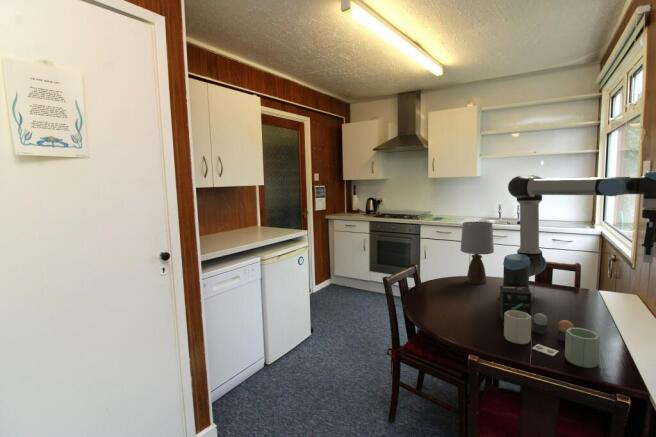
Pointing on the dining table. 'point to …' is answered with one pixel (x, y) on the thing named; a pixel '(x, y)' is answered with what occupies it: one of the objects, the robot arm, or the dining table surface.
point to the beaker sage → (582, 347)
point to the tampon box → (514, 300)
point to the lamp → (477, 248)
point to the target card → (545, 350)
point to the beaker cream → (517, 327)
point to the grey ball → (540, 319)
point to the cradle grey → (539, 328)
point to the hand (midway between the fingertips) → (651, 259)
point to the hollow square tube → (561, 336)
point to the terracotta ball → (565, 325)
